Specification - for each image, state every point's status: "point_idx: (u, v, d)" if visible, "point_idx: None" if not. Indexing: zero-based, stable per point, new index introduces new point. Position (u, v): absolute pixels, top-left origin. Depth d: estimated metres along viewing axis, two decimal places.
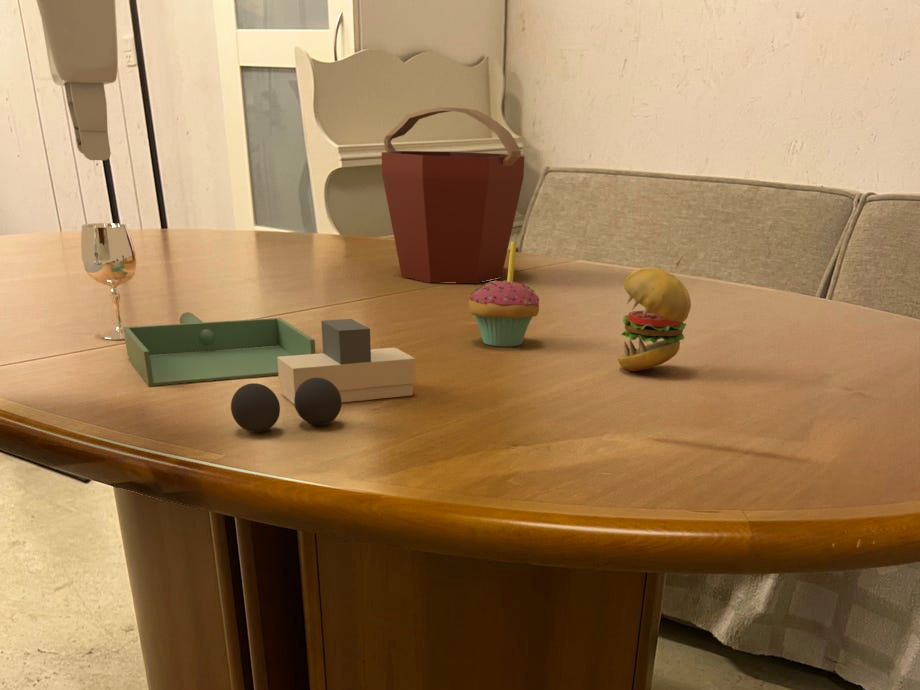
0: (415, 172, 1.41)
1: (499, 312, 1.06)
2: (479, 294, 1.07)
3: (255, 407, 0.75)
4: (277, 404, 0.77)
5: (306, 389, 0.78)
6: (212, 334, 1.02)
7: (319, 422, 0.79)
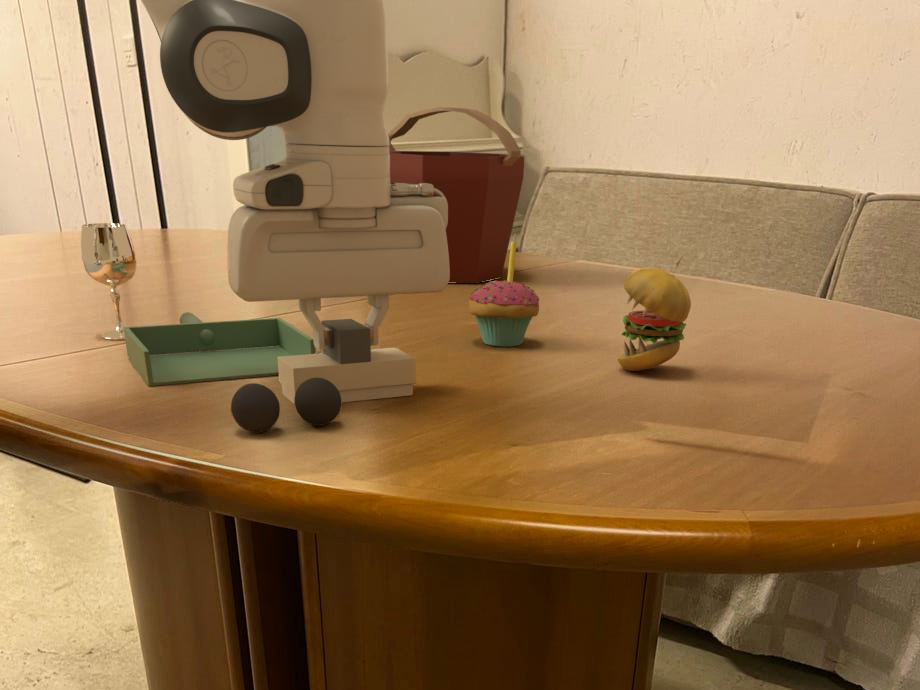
0: (415, 172, 1.41)
1: (499, 312, 1.06)
2: (479, 294, 1.07)
3: (255, 407, 0.75)
4: (277, 404, 0.77)
5: (306, 389, 0.78)
6: (212, 334, 1.02)
7: (319, 422, 0.79)
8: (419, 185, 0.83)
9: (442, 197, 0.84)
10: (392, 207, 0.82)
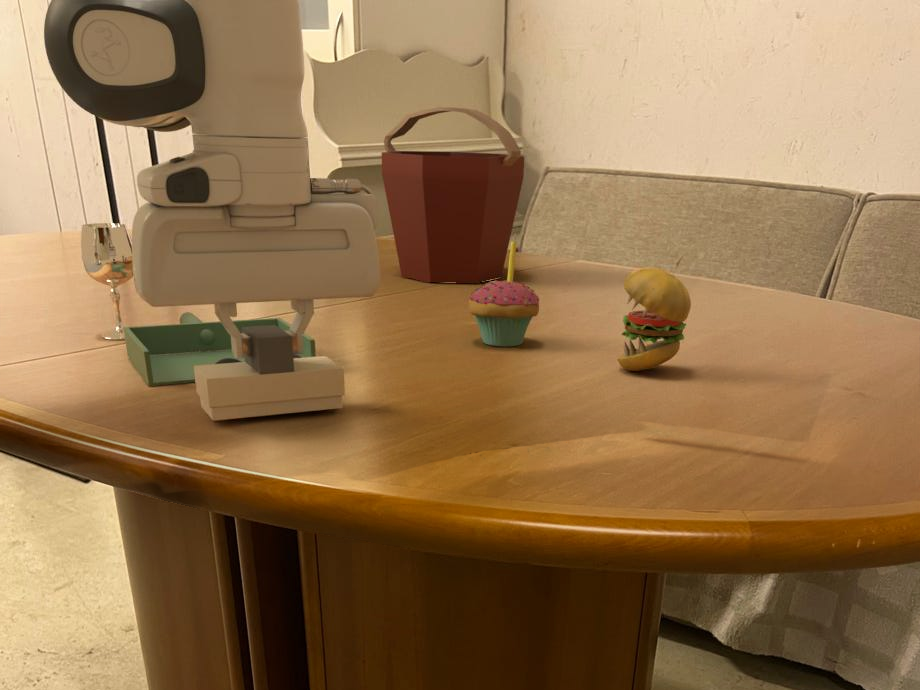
0: (415, 172, 1.41)
1: (499, 312, 1.06)
2: (479, 294, 1.07)
3: None
4: None
5: None
6: (212, 334, 1.02)
7: None
8: (344, 181, 0.77)
9: (370, 194, 0.78)
10: (312, 204, 0.75)
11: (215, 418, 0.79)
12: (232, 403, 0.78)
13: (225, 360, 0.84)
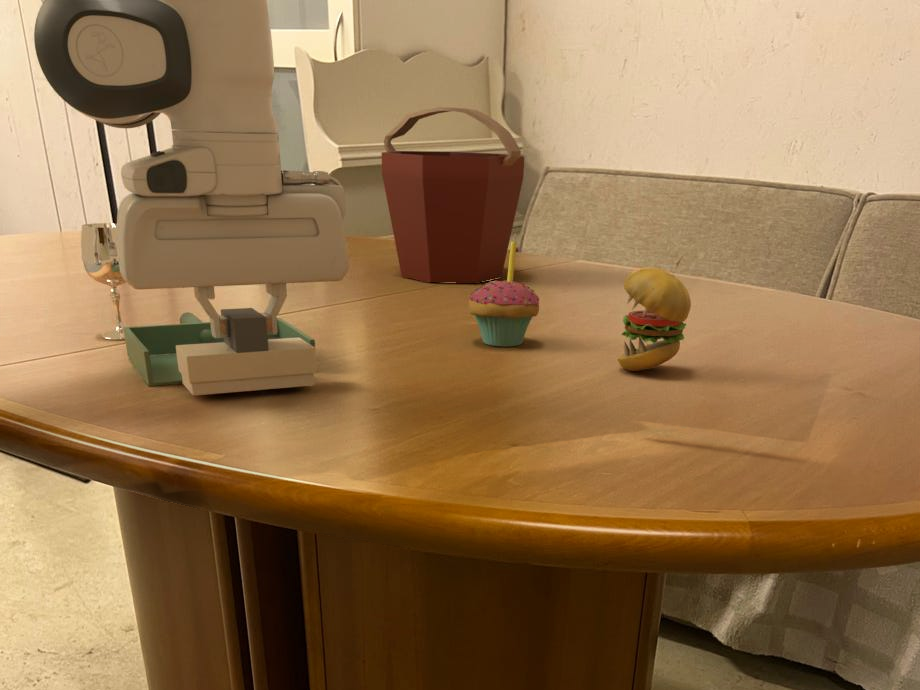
0: (415, 172, 1.41)
1: (499, 312, 1.06)
2: (479, 294, 1.07)
3: None
4: None
5: None
6: None
7: (269, 338, 0.92)
8: (313, 173, 0.83)
9: (338, 185, 0.84)
10: (284, 194, 0.81)
11: (195, 393, 0.85)
12: (211, 379, 0.85)
13: None
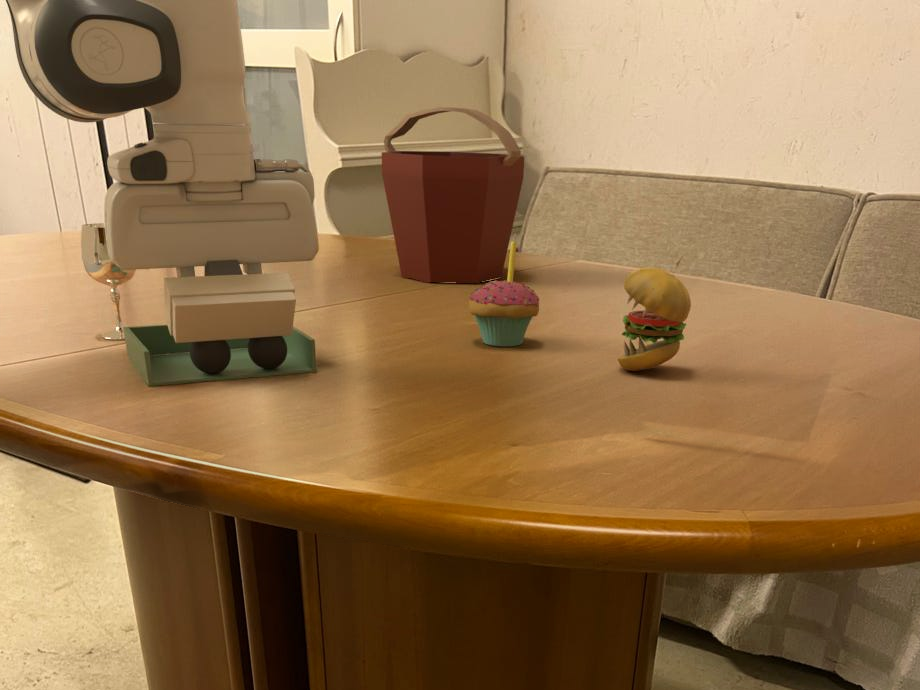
0: (415, 172, 1.41)
1: (499, 312, 1.06)
2: (479, 294, 1.07)
3: None
4: None
5: (257, 365, 0.96)
6: None
7: None
8: (284, 161, 0.90)
9: (307, 172, 0.92)
10: (257, 181, 0.89)
11: (177, 304, 0.86)
12: (190, 293, 0.87)
13: (210, 349, 0.91)
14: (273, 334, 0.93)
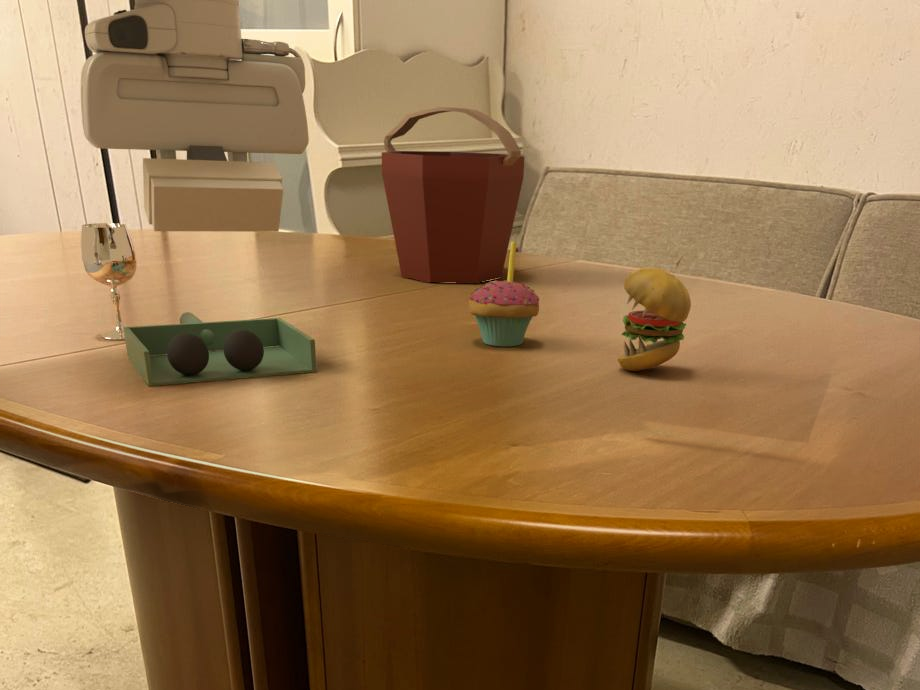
0: (415, 172, 1.41)
1: (499, 312, 1.06)
2: (479, 294, 1.07)
3: None
4: None
5: None
6: (212, 334, 1.02)
7: None
8: (273, 43, 0.85)
9: (298, 57, 0.87)
10: (244, 61, 0.84)
11: (156, 185, 0.81)
12: (171, 175, 0.82)
13: (182, 357, 0.90)
14: (258, 229, 0.88)
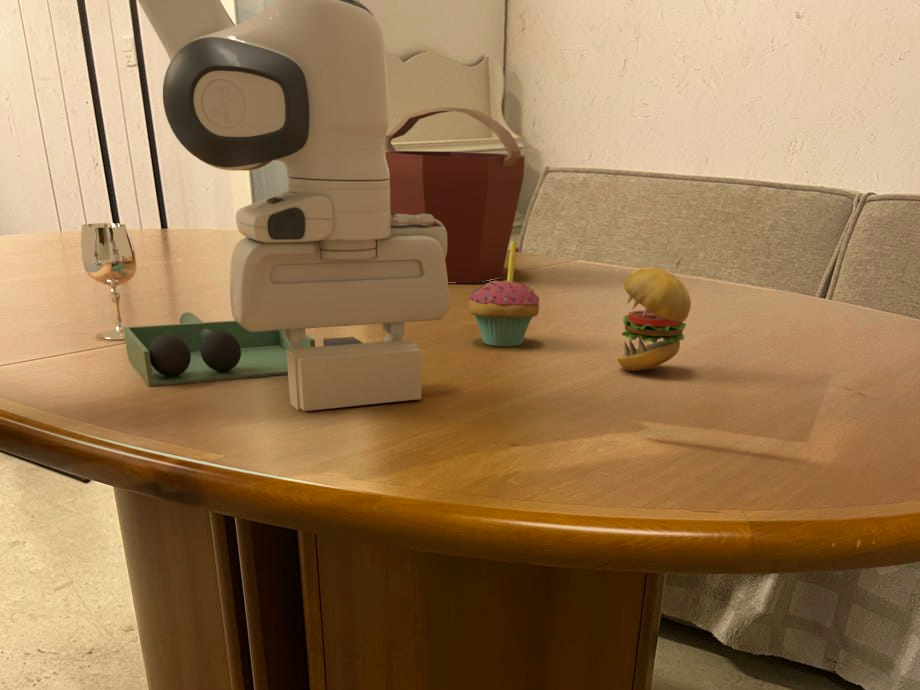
0: (415, 172, 1.41)
1: (499, 312, 1.06)
2: (479, 294, 1.07)
3: None
4: None
5: (239, 347, 0.94)
6: None
7: None
8: (419, 216, 0.84)
9: (441, 227, 0.86)
10: (392, 238, 0.83)
11: (302, 358, 0.81)
12: (314, 353, 0.83)
13: (166, 364, 0.90)
14: (402, 398, 0.87)
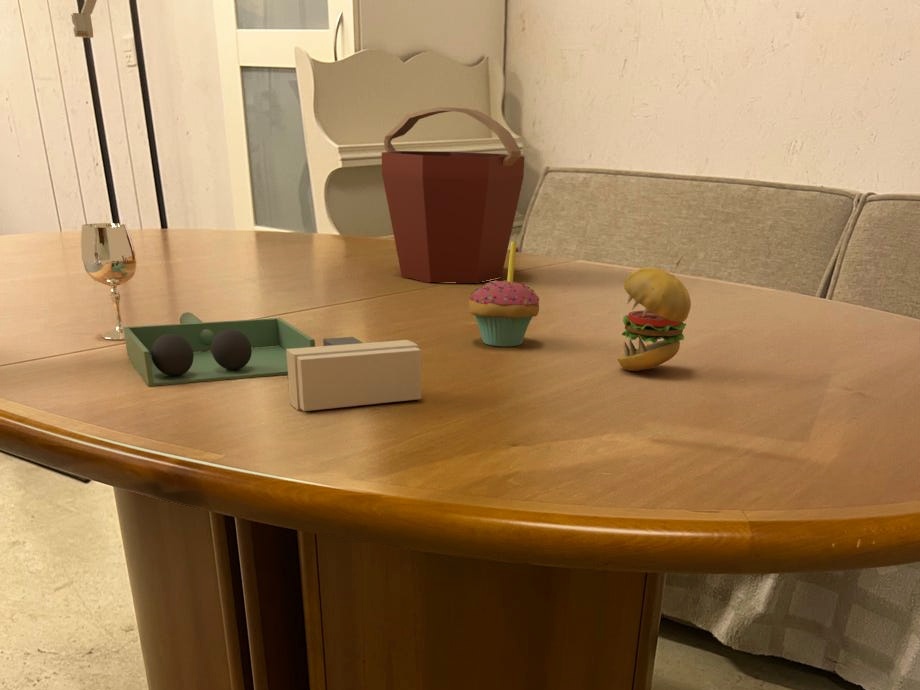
0: (415, 172, 1.41)
1: (499, 312, 1.06)
2: (479, 294, 1.07)
3: None
4: None
5: (249, 357, 0.96)
6: (212, 334, 1.02)
7: None
8: None
9: None
10: None
11: (302, 358, 0.81)
12: (314, 353, 0.83)
13: (168, 363, 0.90)
14: (402, 398, 0.87)
